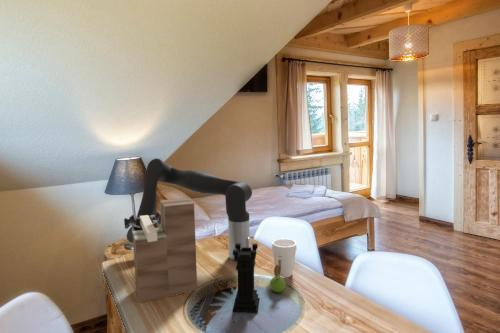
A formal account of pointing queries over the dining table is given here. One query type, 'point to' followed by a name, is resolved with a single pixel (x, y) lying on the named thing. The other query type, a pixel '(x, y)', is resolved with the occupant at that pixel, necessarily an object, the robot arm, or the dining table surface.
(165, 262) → the stepped stand
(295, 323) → the dining table surface
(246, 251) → the chess piece
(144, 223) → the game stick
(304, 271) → the dining table surface
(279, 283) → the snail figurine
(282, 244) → the foam cup
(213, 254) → the dining table surface
